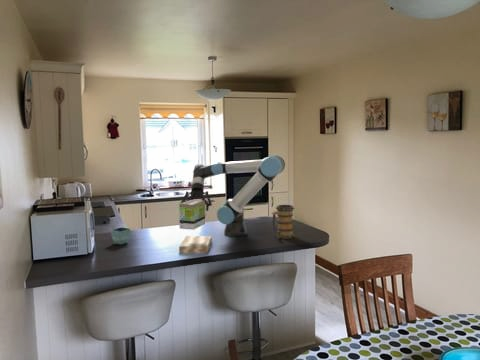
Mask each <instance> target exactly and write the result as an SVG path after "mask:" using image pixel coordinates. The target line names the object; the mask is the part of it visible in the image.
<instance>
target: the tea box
mask: <svg viewBox="0 0 480 360" xmlns="http://www.w3.org/2000/svg"><path fill="white" fill-rule="evenodd" d="M178 205H179V208H178V212H179V213H178V215H179V229H181V230H196V229H198V228H200V227H202V226H205V224H206V216H205V214H204V212H205V201H202V200H201V199H193V200H189V201H186V202H183V203H181V202H180V203H179V204H178Z"/></svg>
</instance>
